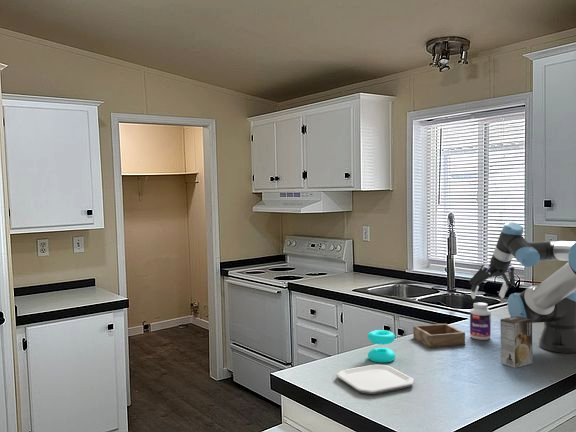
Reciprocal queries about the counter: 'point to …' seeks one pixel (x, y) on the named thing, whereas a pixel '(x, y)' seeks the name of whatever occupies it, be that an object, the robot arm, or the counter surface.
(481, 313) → the pill bottle
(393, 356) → the donuts
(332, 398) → the counter surface
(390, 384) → the plate
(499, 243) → the robot arm
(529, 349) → the coffee box
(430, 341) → the crate
